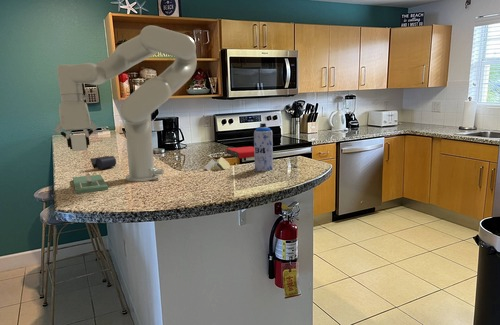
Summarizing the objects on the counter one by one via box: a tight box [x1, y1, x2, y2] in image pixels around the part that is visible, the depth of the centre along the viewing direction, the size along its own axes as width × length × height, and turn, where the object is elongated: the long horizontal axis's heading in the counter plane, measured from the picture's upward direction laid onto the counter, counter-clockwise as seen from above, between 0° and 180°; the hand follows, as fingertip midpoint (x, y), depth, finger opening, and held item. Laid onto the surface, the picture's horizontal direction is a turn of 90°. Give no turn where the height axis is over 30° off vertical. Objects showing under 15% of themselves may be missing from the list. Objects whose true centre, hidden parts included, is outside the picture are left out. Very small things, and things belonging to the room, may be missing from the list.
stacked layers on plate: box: [204, 157, 231, 171], centre depth 153 cm, size 10×9×6 cm
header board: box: [72, 174, 109, 195], centre depth 132 cm, size 24×10×1 cm, turn 28°
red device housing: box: [225, 146, 255, 159], centre depth 182 cm, size 18×14×5 cm
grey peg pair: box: [85, 173, 92, 185], centre depth 127 cm, size 4×1×4 cm, turn 28°
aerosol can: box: [253, 123, 274, 172], centre depth 145 cm, size 8×8×20 cm
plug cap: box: [70, 133, 88, 152], centre depth 135 cm, size 8×5×6 cm, turn 28°
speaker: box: [90, 155, 117, 170], centre depth 164 cm, size 7×5×9 cm
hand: (79, 147), depth 135 cm, fingers closed on plug cap, 4 cm apart
